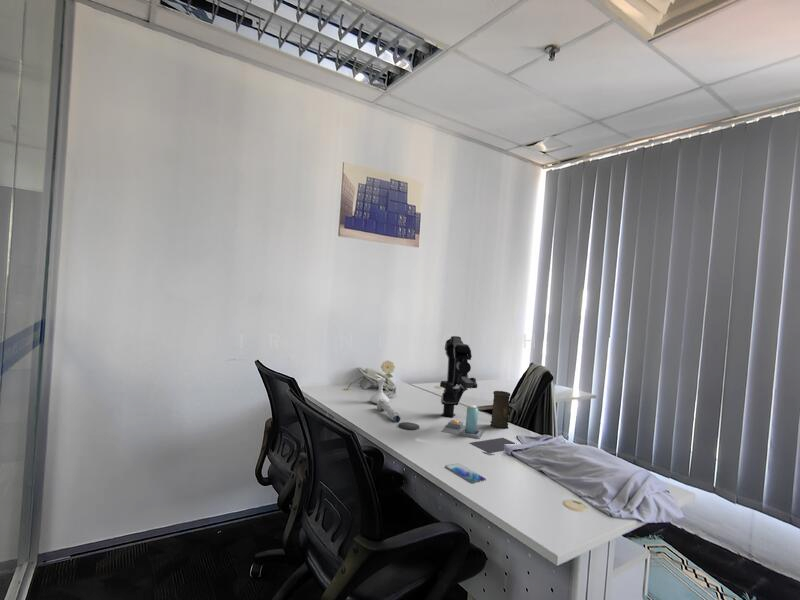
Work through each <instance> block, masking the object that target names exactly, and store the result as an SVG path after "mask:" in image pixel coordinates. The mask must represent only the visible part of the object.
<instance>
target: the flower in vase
mask: <svg viewBox="0 0 800 600" xmlns="http://www.w3.org/2000/svg"><path fill="white" fill-rule="evenodd" d="M380 369H381V371H382V372H383V373H384V375H382V374H380V373H378V376H380V378H379V377H378V378H376V380H377V383H378V389H377V390H378V391H377V392H376V393H375V394H373V395H371V396H370V398H369V401H370V402H372V403H374V404H377V403H379V400H380V399H385V400H386V403H387V404H388V403H390V398H389V396H387V395H386V394H385V393H384V392H383V388H384V383H385V381H386V378H389V379H390V378H393V375H392V374H391V373H394V370H395V369H396V366H395V364H394V362H393V361H391V360H389V359H388V360H385V361H383V362H382V363H381V365H380ZM385 377H386V378H385Z"/></svg>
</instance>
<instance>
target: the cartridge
mask: <svg viewBox="0 0 800 600" xmlns="http://www.w3.org/2000/svg"><path fill="white" fill-rule="evenodd" d="M478 416H479V407H478V406H477V405H474V404H473V405H471V404H469V405H468V406H467V407H466V416H465V426H466V427H465V433H469V434H474V435H476V432H477V428H478V421H479V420H478V419H479V417H478Z"/></svg>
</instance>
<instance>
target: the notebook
mask: <svg viewBox="0 0 800 600" xmlns="http://www.w3.org/2000/svg"><path fill="white" fill-rule="evenodd" d="M515 443H516V442H514V441H512V440H509V439H508V438H504V437H499V438H493V439H485V440H484V439H483V440H478V441H472V442H468V444H469V445H471V446H474V447H476V448H478V449H479V450H481V451H482V454H485V455H487V456H495V454H494V453H498V452H499V453H500V452H505V451H506V450H504V448H503V446H504V444H515Z"/></svg>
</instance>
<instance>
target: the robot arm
mask: <svg viewBox="0 0 800 600" xmlns="http://www.w3.org/2000/svg"><path fill="white" fill-rule="evenodd" d="M444 351H445V355H446V357H447V360H448V361H447V374H446V375H447V378H446V380H441V381H440V383H439V387H441V388H442V389H443V393H442V395H441V397H440V398H441V399H440V403H441V405H443V410H442V413H441V414H440V416H443V417H447V416H448V418H454V417H455V416H456V413H454V412H455V406H459V402H460V400H461V399H462V396H463V394H464V392H466V391H468V390H469V389H478V382H477V379H476V378H475V377H469V376H468V375H469V374H468V373H470V372H471V370H472V367H471V364H470V362H468V361H471V360H472V356H473V355H472V349H471V347H470V346H469V345H468V344H466V343H464V342H463V341H462V338H461V337H460V336H456V335H451V336H450V338H449V339H447V340H446V341H445V343H444Z"/></svg>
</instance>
